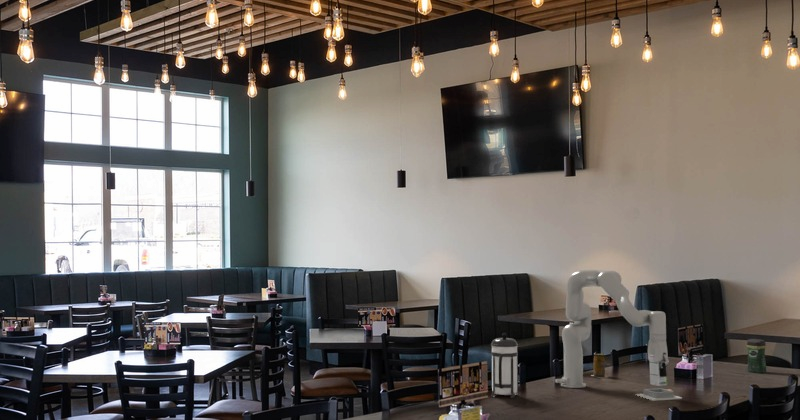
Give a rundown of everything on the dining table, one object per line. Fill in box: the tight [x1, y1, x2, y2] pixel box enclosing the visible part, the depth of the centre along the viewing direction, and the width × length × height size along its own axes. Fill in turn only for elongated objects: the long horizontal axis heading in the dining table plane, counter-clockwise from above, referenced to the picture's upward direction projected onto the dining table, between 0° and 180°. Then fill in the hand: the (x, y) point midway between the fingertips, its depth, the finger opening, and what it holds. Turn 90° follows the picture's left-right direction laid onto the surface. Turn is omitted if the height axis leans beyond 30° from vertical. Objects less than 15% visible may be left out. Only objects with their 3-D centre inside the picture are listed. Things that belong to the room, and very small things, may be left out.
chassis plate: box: [634, 387, 683, 402], centre depth 388 cm, size 16×14×3 cm
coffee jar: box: [746, 338, 767, 374], centre depth 463 cm, size 10×8×19 cm
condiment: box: [590, 353, 609, 379], centre depth 448 cm, size 7×8×12 cm
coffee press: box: [490, 332, 519, 399], centre depth 390 cm, size 17×16×30 cm
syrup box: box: [648, 354, 668, 387], centre depth 388 cm, size 6×6×14 cm
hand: (658, 375), depth 388 cm, fingers closed on syrup box, 6 cm apart
